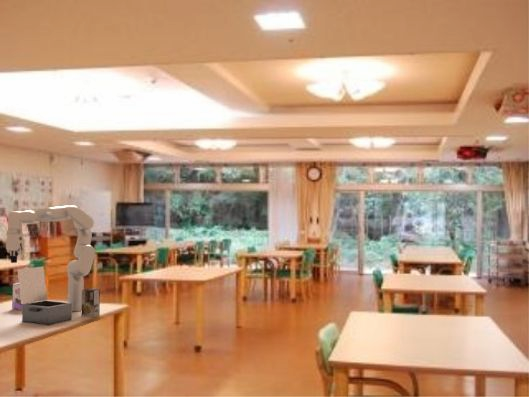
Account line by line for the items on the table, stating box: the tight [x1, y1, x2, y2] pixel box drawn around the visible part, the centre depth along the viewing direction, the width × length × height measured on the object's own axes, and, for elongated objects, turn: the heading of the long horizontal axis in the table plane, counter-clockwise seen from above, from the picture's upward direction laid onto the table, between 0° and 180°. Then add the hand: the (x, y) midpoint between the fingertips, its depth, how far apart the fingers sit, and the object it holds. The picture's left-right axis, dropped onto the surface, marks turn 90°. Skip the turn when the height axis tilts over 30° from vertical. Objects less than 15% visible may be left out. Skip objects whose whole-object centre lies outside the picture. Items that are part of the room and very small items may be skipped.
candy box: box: [11, 282, 34, 311], centre depth 387 cm, size 14×6×16 cm, turn 68°
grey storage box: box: [21, 299, 73, 326], centre depth 350 cm, size 22×20×10 cm
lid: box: [17, 266, 48, 304], centre depth 356 cm, size 19×20×3 cm
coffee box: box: [81, 288, 101, 318], centre depth 368 cm, size 9×6×16 cm
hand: (13, 262), depth 362 cm, fingers closed
